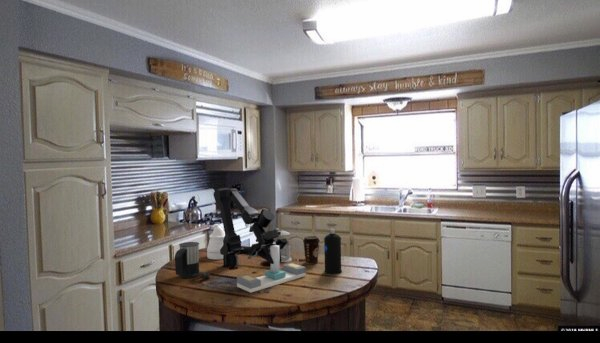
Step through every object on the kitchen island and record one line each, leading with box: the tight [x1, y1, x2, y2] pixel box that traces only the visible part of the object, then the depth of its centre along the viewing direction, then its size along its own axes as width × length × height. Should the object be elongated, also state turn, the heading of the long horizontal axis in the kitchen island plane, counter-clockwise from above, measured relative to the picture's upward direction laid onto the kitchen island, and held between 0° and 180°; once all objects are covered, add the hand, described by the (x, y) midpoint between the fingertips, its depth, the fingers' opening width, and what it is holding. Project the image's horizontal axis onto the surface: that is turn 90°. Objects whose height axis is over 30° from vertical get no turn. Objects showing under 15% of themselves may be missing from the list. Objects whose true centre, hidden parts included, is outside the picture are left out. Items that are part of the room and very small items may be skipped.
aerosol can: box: [323, 228, 343, 275], centre depth 170 cm, size 8×8×20 cm
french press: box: [275, 212, 293, 263], centre depth 193 cm, size 10×12×25 cm
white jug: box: [206, 223, 225, 260], centre depth 202 cm, size 13×13×18 cm
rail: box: [236, 262, 307, 294], centre depth 158 cm, size 30×10×4 cm, turn 132°
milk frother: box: [174, 241, 212, 279], centre depth 166 cm, size 14×16×15 cm
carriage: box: [264, 245, 286, 279], centre depth 159 cm, size 6×7×13 cm
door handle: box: [237, 245, 270, 259], centre depth 206 cm, size 3×20×16 cm
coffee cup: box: [302, 235, 321, 265], centre depth 186 cm, size 9×8×13 cm
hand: (277, 262), depth 158 cm, fingers closed on carriage, 4 cm apart
